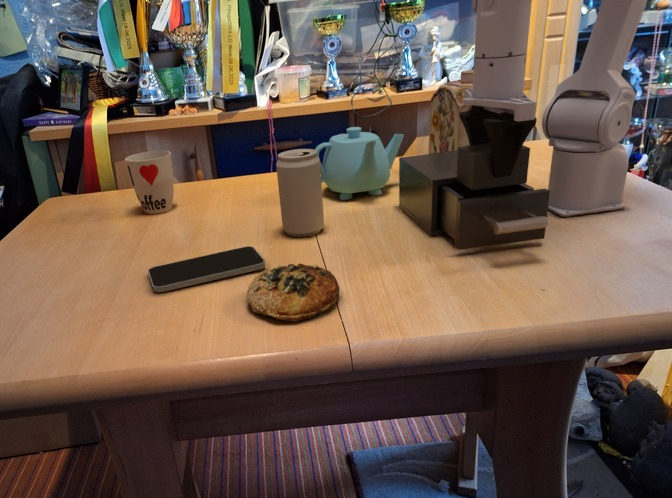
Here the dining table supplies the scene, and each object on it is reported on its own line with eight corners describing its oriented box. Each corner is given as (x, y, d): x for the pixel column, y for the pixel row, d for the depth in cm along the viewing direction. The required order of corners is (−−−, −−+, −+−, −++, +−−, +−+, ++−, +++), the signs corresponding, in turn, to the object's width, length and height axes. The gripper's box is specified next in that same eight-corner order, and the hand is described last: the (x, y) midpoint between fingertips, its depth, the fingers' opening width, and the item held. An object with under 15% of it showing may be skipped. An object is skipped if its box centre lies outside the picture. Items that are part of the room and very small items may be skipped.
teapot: (412, 184, 102) (413, 120, 97) (375, 206, 93) (374, 137, 88) (341, 178, 111) (338, 119, 106) (301, 197, 102) (296, 134, 97)
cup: (128, 215, 103) (115, 161, 98) (152, 202, 109) (141, 150, 105) (165, 217, 100) (154, 161, 95) (188, 203, 106) (178, 150, 102)
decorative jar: (455, 183, 100) (460, 76, 92) (426, 169, 110) (428, 71, 102) (516, 174, 101) (526, 67, 93) (482, 161, 112) (489, 63, 104)
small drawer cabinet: (517, 225, 79) (523, 168, 76) (431, 237, 79) (432, 180, 75) (473, 197, 92) (476, 147, 89) (399, 207, 92) (399, 157, 88)
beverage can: (321, 237, 83) (316, 156, 77) (279, 239, 84) (271, 159, 79) (326, 223, 88) (322, 146, 83) (286, 224, 90) (279, 148, 84)
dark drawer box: (565, 251, 68) (572, 201, 65) (473, 264, 67) (477, 214, 64) (495, 208, 84) (499, 166, 81) (421, 218, 83) (422, 176, 80)
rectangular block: (507, 173, 74) (510, 140, 72) (526, 183, 70) (530, 147, 68) (456, 180, 74) (457, 147, 72) (472, 190, 70) (474, 155, 68)
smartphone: (147, 268, 77) (251, 244, 80) (148, 274, 77) (252, 250, 80) (153, 288, 70) (266, 262, 74) (154, 295, 71) (267, 268, 74)
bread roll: (352, 282, 67) (347, 245, 65) (323, 339, 59) (316, 300, 57) (270, 277, 72) (262, 243, 70) (232, 329, 64) (221, 293, 61)
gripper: (443, 56, 72) (439, 162, 78) (495, 63, 59) (486, 189, 65) (496, 50, 72) (489, 156, 78) (560, 55, 59) (545, 181, 65)
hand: (491, 171), depth 71 cm, fingers closed on rectangular block, 5 cm apart
